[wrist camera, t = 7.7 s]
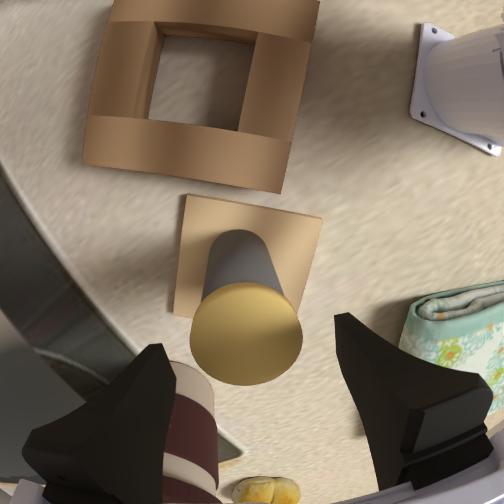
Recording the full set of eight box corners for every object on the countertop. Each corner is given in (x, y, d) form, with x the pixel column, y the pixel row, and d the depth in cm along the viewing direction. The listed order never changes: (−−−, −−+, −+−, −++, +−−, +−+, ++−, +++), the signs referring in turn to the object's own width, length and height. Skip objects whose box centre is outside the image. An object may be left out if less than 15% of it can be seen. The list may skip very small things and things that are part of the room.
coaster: (321, 217, 22) (323, 220, 21) (290, 328, 25) (291, 333, 24) (188, 193, 21) (186, 195, 20) (174, 310, 24) (173, 314, 23)
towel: (501, 387, 31) (519, 410, 26) (366, 430, 31) (378, 464, 26) (545, 265, 24) (573, 284, 19) (395, 291, 24) (422, 325, 20)
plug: (263, 218, 21) (292, 280, 11) (277, 279, 22) (309, 371, 13) (197, 235, 21) (173, 308, 11) (216, 294, 22) (209, 393, 13)
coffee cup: (241, 416, 28) (241, 557, 14) (148, 424, 29) (119, 548, 15) (210, 337, 25) (189, 515, 11) (105, 352, 25) (39, 492, 11)
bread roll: (285, 500, 37) (288, 521, 33) (227, 494, 35) (226, 517, 32) (310, 476, 34) (315, 500, 30) (245, 470, 33) (246, 496, 29)
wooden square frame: (310, 17, 17) (320, 1, 14) (275, 185, 21) (280, 194, 18) (134, -3, 15) (120, -19, 13) (101, 159, 20) (81, 164, 17)
